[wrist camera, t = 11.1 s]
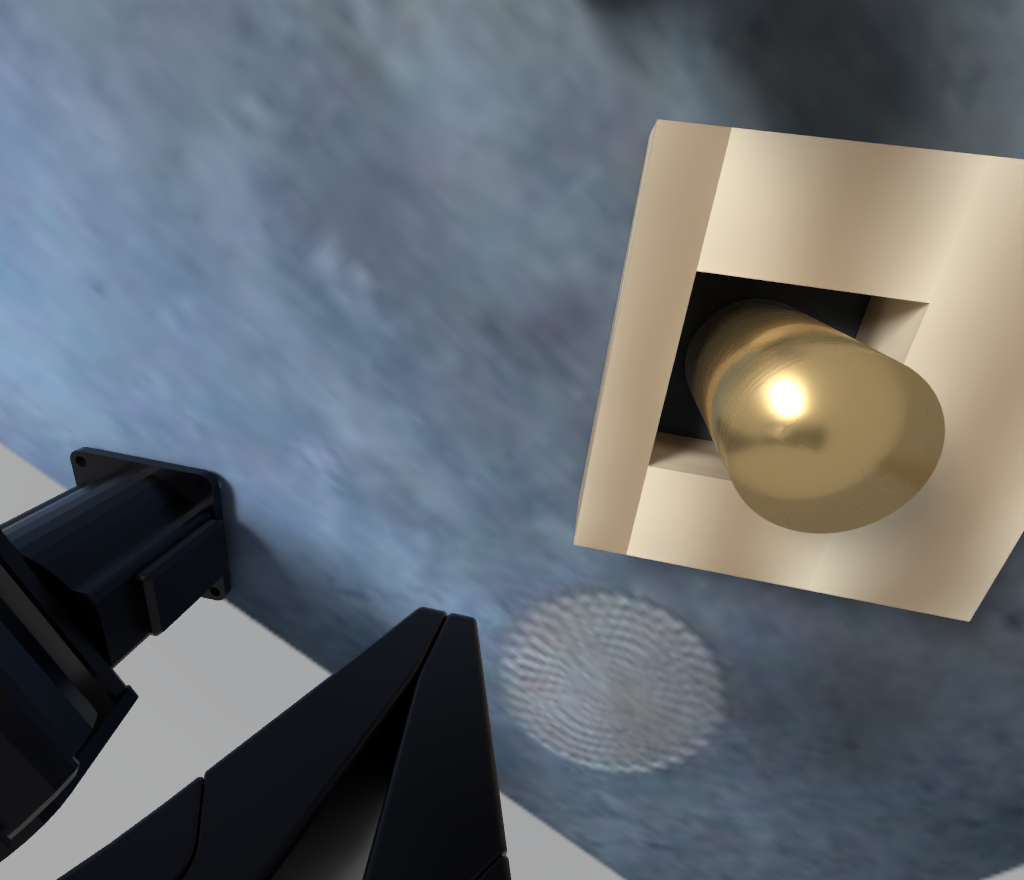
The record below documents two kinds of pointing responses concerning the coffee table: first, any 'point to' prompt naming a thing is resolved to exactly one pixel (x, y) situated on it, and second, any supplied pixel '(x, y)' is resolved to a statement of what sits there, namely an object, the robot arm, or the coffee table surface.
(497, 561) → the coffee table surface
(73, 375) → the coffee table surface
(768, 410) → the brass cylinder plug
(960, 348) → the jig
